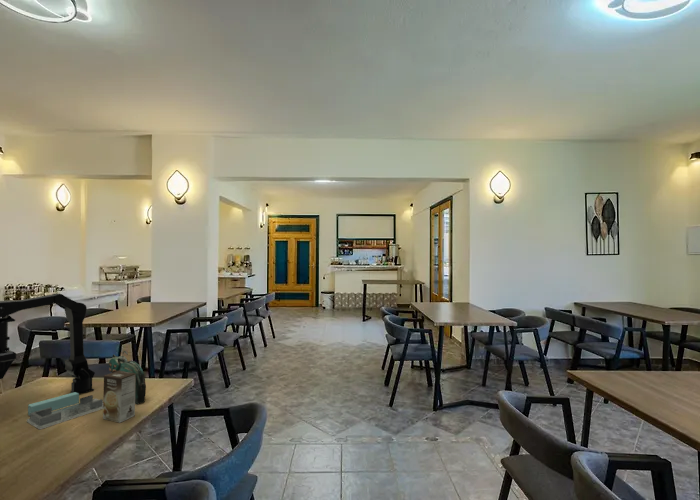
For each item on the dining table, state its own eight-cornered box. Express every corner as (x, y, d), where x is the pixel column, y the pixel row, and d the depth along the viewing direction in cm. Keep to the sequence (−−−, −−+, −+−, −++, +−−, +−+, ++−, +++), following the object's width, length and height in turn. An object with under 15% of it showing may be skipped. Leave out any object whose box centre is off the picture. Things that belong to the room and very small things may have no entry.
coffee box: (101, 419, 130) (102, 375, 130) (118, 412, 136) (118, 370, 136) (120, 423, 127) (120, 378, 127) (136, 415, 133) (136, 372, 133)
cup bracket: (95, 400, 147) (95, 393, 147) (109, 406, 141) (109, 398, 141) (27, 421, 128) (27, 413, 128) (39, 429, 122) (39, 420, 122)
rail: (75, 401, 146) (75, 392, 147) (78, 403, 145) (79, 393, 145) (28, 415, 134) (28, 404, 134) (31, 417, 132) (31, 406, 132)
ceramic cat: (106, 397, 150) (107, 350, 151) (122, 392, 156) (122, 346, 157) (135, 406, 141) (135, 356, 142) (150, 400, 147) (151, 352, 147)
